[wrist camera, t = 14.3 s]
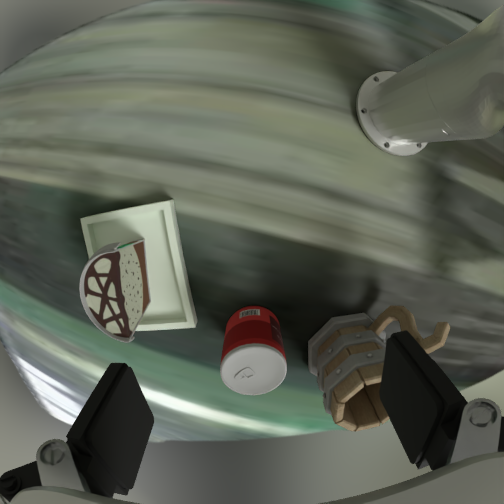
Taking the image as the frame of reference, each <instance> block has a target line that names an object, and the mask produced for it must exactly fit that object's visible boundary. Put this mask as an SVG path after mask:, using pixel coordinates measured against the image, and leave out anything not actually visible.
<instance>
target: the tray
mask: <svg viewBox="0 0 504 504" xmlns="http://www.w3.org/2000/svg"><path fill="white" fill-rule="evenodd" d="M80 220H81V225H82V229H83V234H84V239H85V243H86V247H87V251H88V255H89V259H90V258H91V257H92V255H93V254H94V253H95V252H96V251H97V250H99V249H100V248H102V247H104V246H105V245H108V244H111V243H117V242H121V244H120V245H119V246H121V245H124V244H127V243H129V242H132V241H135V240H139V239H145V247H146V259H147V269H148V279H149V287H150V296H151V302H150V304H149V306H148V308H147V310H146V312H145V313H144V315H143V317H142V319H141V321H140V323H139V324H138V326H137V328H136V330H135V331H147V330H165V329H180V328H194V327H196V324H197V321H198V320H197V316H196V312H195V307H194V303H193V298H192V294H191V289H190V285H189V280H188V275H187V270H186V265H185V260H184V255H183V250H182V245H181V240H180V234H179V229H178V223H177V217H176V211H175V205H174V199H172V200H166V201H161V202H155V203H150V204H144V205H139V206H134V207H129V208H124V209H119V210H114V211H110V212H105V213H100V214H96V215H91V216H87V217H84V218H81V219H80ZM119 246H118V247H119Z"/></svg>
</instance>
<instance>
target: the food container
mask: <svg viewBox="0 0 504 504" xmlns="http://www.w3.org/2000/svg"><path fill="white" fill-rule="evenodd" d="M120 244H121V242H117V243H111V244H108V245H105V246H104V247H102V248H100V249H99V250H97V251H96V252H95V253H94V254H93V255H92V257H91V258H90V259H89V260H88V262H87V263H86V265H85V267H84V269H83V272H82V275H81V279H80V297H81V301H82V304H83V307H84V309H85V311H86V313H87V315H88V316H89V318H90V319H91V321H92V322H93V323H94V324H95V325H96V326H97V327H98V328H99V329H100V330H101V331H102V332H103V333H105V334H107V335H108V336H110V337H112V338H114V339H116V340H119V341H122V342H127V343H129V342H131V341H132V340H133V339H134V338H135V337H133V334H134V332H135V330H136V328H137V326H138V324H139V323H140V321H141V319H142V317H143V315H144V313H145V312H146V310H147V308H148V306H149V304H150V302H151V296H150V287H149V279H148V269H147V259H146V247H145V239H139V240H135V241H132V242H129V243H127V244H124V245H121V246H119V245H120ZM118 246H119V247H118Z"/></svg>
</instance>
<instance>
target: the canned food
mask: <svg viewBox="0 0 504 504" xmlns="http://www.w3.org/2000/svg"><path fill="white" fill-rule="evenodd" d="M220 371H221V372H220V373H221V378H222V380H223V382H224V383H225V384H226V386H227V387H229V388H230V389H231V390H233V391H235V392H237V393H240V394H245V395H259V394H264V393H267V392H269V391H271V390H273V389H275V388H276V387H277V386H279V385H280V384H281V382H282V381H283V380H284V378H285V376H286V372H287V363H286V357H285V351H284V346H283V341H282V335H281V330H280V325H279V321H278V319H277V317H276V316H275V315H274V314H273V313H272V312H271V311H270V310H268V309H267V308H264V307H261V306H247V307H243V308H241V309H239V310H238V311H236V312H235V313H234V314H233V315H232V316H231V317H230V319H229V321H228V323H227V326H226V332H225V338H224V345H223V351H222V358H221V367H220Z"/></svg>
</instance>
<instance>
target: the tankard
mask: <svg viewBox="0 0 504 504" xmlns="http://www.w3.org/2000/svg"><path fill="white" fill-rule="evenodd" d="M393 320H395V321H399V323H400V327H401V331H405V330H407V331H408V332H409V333H410V334H411V335H412V336H413V337H414V339H415V340H416V341H417V342H418V343H419V344H420V346H421V347H422V348H423V349H424V350H425V351H426V353H427V354H429V353H430V352H432V351H434V350H436V349H438V348H440V347H442V346H444V344H445V341H446V338H447V335H448V333H449V330H450V325H449V324H448V323H447V322H438V323H437V325H436V328H435V331H434V334H433V335H431V336H429V337H427V338H425V339H423V338H422V337H421V335H420V334H419V332H418V331H417V327H416V323H415V319H414V315H413V314H412V313H411V312H410V311H408V310H407V309H406V308H405V307H404V306H389V307H388V308H387V309H386V310H385V311H384V312H383V313H382V314H380V315H379V316H378V317H377V319H376V320H375V321H373V320H372V319H371V318H370V317H368V316H367V315H366V314H365V313H359V314H352V315H346V316H339V317H332V318H331V319H330V320H329V321H328V322H327V323H326V324H325V325H324V326H323V327H322V328H321V329H320V330H319V331H318V332H317V333H316V334H315V335H314V336H313V337H312V338H311V339H310V340H309V341H308V368H309V371H310V372H311V373H312V374H314V375H316V376H317V383H318V386H319V389H320V390H321V391H323V392H324V394H323V403H324V407H325V410H326V413H328V414H330V415H332V417H333V420H334V422H335V424H337V425H339V426H341V427H344V428H346V429H348V430H350V431H360V430H364V429H368V428H372V427H376V426H380V423H382V424H384V423H385V422H386V421H387V420H389V419H390V418H389V416H388V414H387V412H386V410H385V408H384V406H383V404H382V402H381V400H380V396H379V390H380V384H381V378H382V372H383V365H384V358H385V350H386V342H385V336H386V332H385V331H384V329H385V327H386V326H387V325H388V324H389V323H390V322H392V321H393Z"/></svg>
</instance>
